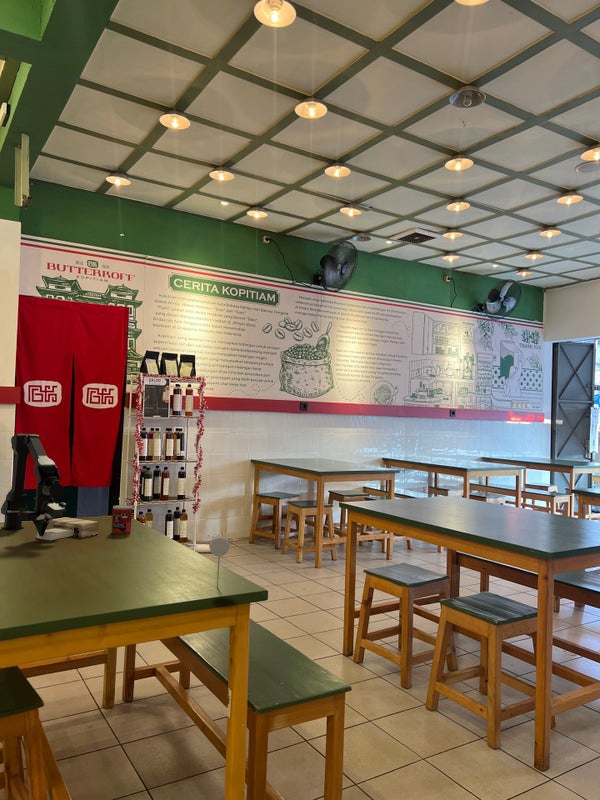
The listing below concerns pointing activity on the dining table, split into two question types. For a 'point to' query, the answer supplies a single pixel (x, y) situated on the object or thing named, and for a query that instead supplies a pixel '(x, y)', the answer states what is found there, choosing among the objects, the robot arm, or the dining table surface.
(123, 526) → the canned food
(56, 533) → the flat white block
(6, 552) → the dining table surface
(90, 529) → the oak shelf
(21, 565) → the dining table surface
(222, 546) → the lollipop
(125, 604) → the dining table surface
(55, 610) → the dining table surface
